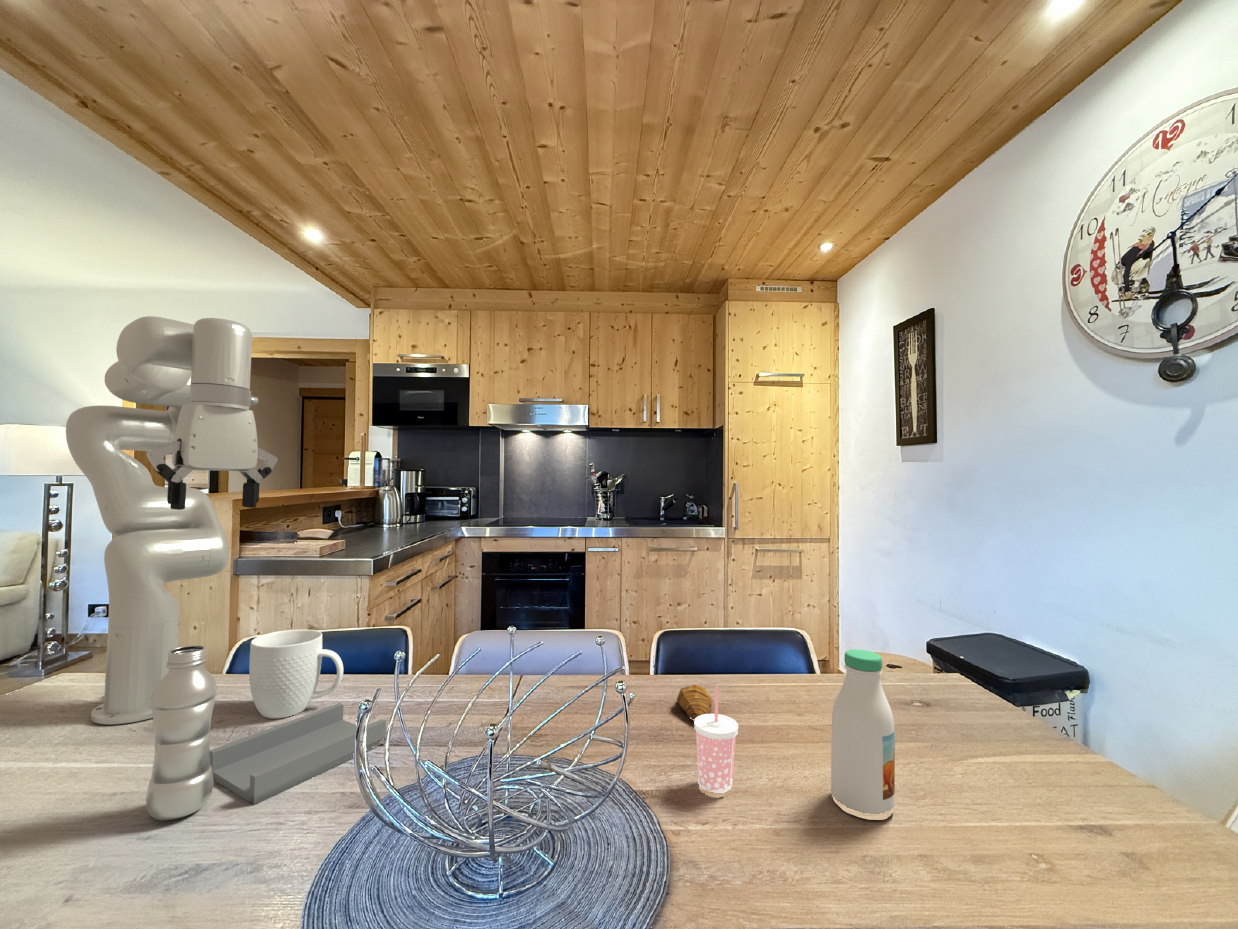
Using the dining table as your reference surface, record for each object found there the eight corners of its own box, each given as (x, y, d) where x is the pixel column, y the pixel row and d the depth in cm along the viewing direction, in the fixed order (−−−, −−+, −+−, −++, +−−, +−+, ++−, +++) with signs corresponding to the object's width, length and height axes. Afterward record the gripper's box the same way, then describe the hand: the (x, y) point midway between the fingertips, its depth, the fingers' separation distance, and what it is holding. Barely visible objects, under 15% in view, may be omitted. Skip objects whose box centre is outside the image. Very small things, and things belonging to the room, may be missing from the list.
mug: (349, 695, 102) (352, 627, 103) (332, 721, 91) (335, 644, 92) (263, 700, 99) (266, 630, 99) (234, 727, 88) (237, 648, 89)
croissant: (671, 696, 106) (672, 671, 106) (705, 697, 106) (705, 671, 106) (681, 728, 92) (682, 699, 92) (720, 729, 92) (721, 699, 92)
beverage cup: (709, 771, 78) (711, 675, 79) (746, 789, 74) (747, 687, 74) (683, 787, 74) (685, 686, 74) (720, 807, 69) (722, 699, 70)
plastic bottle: (175, 832, 62) (183, 660, 63) (129, 824, 64) (138, 655, 64) (226, 800, 69) (233, 644, 69) (183, 793, 70) (190, 640, 71)
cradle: (207, 776, 74) (209, 750, 74) (338, 723, 90) (339, 703, 90) (253, 805, 68) (255, 777, 68) (385, 743, 84) (386, 721, 84)
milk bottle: (867, 830, 66) (869, 666, 66) (818, 796, 72) (819, 648, 73) (907, 813, 69) (908, 658, 70) (856, 783, 76) (857, 642, 77)
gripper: (266, 407, 93) (262, 505, 92) (140, 392, 78) (134, 508, 78) (290, 405, 89) (285, 507, 89) (162, 389, 74) (156, 511, 74)
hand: (215, 508), depth 83 cm, fingers open, 9 cm apart
